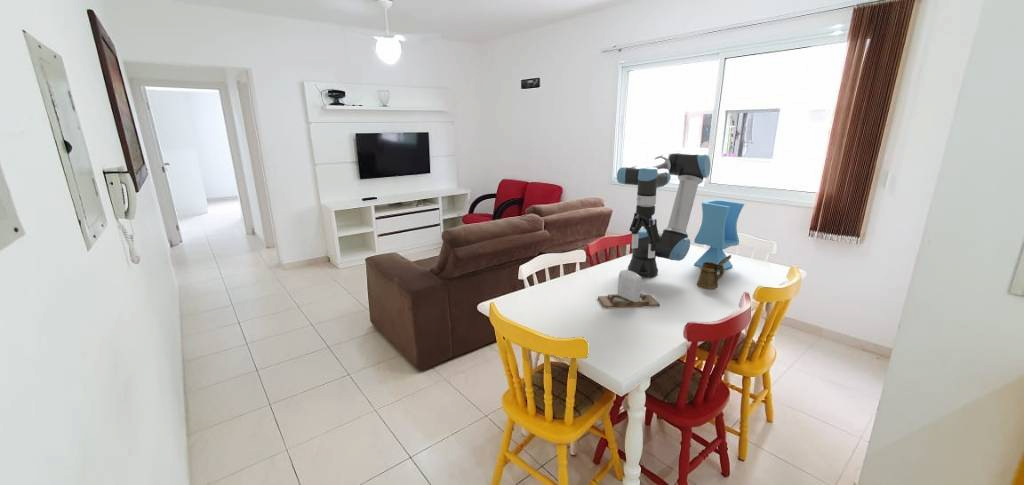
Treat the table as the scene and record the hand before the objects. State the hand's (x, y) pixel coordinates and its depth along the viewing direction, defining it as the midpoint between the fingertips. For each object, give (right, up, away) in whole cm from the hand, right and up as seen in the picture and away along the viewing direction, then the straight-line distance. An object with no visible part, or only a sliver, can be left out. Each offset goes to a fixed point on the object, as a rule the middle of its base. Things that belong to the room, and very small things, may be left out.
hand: (642, 252), depth 175 cm
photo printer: (-6, -20, 0) cm, 21 cm away
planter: (+53, -9, +44) cm, 69 cm away
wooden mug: (+38, -17, +16) cm, 44 cm away
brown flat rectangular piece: (-6, -22, +1) cm, 23 cm away
